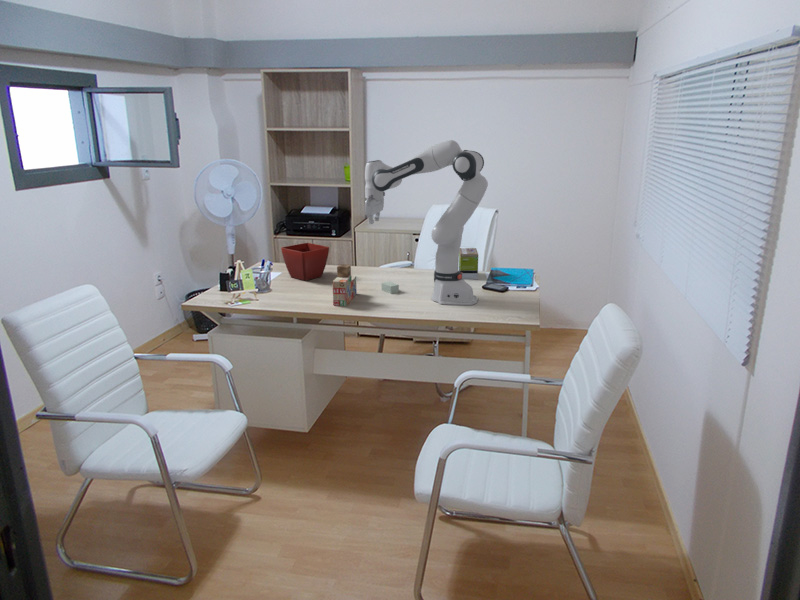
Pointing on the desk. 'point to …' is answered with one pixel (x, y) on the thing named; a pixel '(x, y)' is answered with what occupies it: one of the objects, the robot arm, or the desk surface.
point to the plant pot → (305, 260)
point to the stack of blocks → (343, 290)
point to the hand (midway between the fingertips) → (374, 222)
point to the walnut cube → (343, 270)
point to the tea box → (468, 263)
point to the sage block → (390, 287)
